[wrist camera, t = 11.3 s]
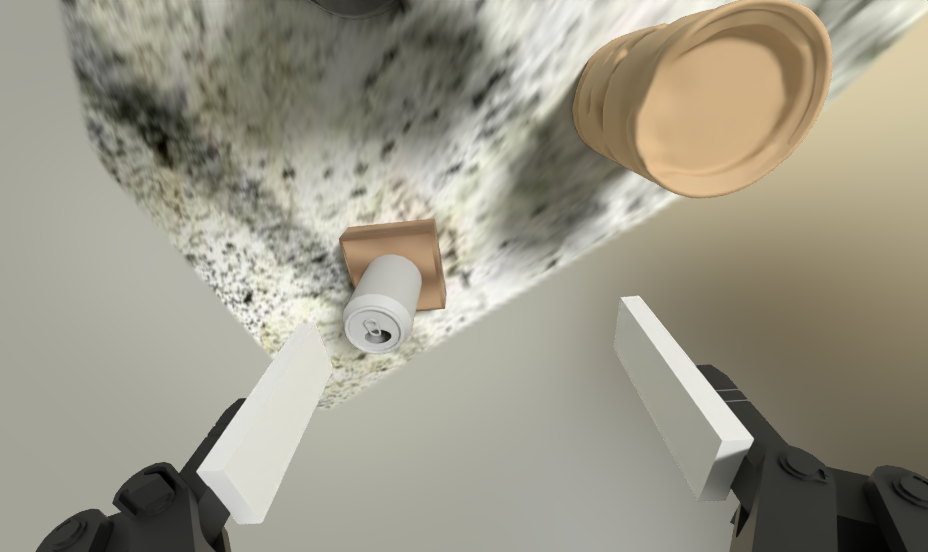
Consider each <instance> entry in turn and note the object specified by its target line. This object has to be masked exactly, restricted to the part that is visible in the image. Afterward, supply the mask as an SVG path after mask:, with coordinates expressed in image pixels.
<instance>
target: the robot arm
mask: <svg viewBox="0 0 928 552" xmlns="http://www.w3.org/2000/svg"><path fill="white" fill-rule="evenodd" d="M308 1H310V2H311V3H313V4H314V5H316V6H318V7H320V8H321V9H323V10H325V11H327V12H329V13H332V14H334V15H337V16H340V17H344V18H350V19H365V18H370V17H374V16H377V15H379V14H382V13H384V12H386V11H387V10H389V9H390V8H392V7H393V6H394V5H395V4H397V3H398V2H399V1H400V0H308ZM614 350H615V352H616V354H617V355H618V357H619V359H620V360H621V363H622V364H623V366H624V368H625V370H626V372H627V374H628V375H629V377H630V379H631V381H632V383H633V385H634V386H635V388H636V390H637V392H638V394H639V395H640V397H641V399H642V401H643V403H644V405H645V406H646V408H647V410H648V412H649V414H650V415H651V417H652V419H653V421H654V422H655V424H656V426H657V428H658V430H659V432H660V433H661V435H662V437H663V439H664V441H665V443H666V444H667V446H668V448H669V450H670V452H671V454H672V455H673V457H674V459H675V461H676V463H677V464H678V466H679V468H680V470H681V472H682V474H683V475H684V477H685V479H686V481H687V482H688V484H689V486H690V488H691V490H692V492H693V493H694V495H695V497H696V499H697V501H698V502H700V501H721V500H726V498H727V496H728V494H729V492H730V489H732V490H733V492H734V493H735V495H736V497H737V498H738V499H739V501H740V504H739V506H738V508H737V510H736V512H735V514H734V516H733V518H732V520H731V522H730V523H732V524H734V530H733V535H732V541H731V547H730V552H928V479H926V478H924V477H922V476H921V475H919V474H917V473H914V472H912V471H909V470H906V469H904V468H901V467H895V466H888V465H886V466H880V467H877V468H876V469H875V470H874V472H873V473H872V474H871V476H867V475H862V474H857V473H853V472H848V471H843V470H839V469H834V468H830V467H826V466H825V465H824V464H823V463H822V462H821V461H819V460H818V459H817V458H816V457H814V456H813V455H811V454H809V453H807V452H805V451H803V450H802V449H800V448H796V447H793V446H789V445H788V444H787V443H786V442H785V441H784V440H783V439H782V438H781V436H780V435H779V434H778V433H777V432H776V431H775V430H774V428H772V426H771V425H770V424H769V423H768V422H767V421H766V419H765V418H764V417H763V416H762V415H761V414H760V413H759V411H758V410H757V409H756V408H755V407H754V406H753V405H752V404H751V402H748V401H747V398H746V397H745V396H744V395H743V393H742V392H741V391H738V388H737V387H736V385H735V384H734V383H733V382H732V381H731V380H730V379H729V378H728V376H727V375H725V374H724V373H722V372H721V371H719V370H718V369H716V368H715V367H713V366H712V365H697V366H695V365H694V364H693V362H692V361H691V360H690V359H689V357H688V356H687V355H686V354H685V353H684V351H683V350H682V349H681V347H680V346H679V345H678V344H677V343H676V341H675V340H674V339H673V338H672V336H671V335H670V334H669V332H668V331H667V330H666V329H665V327H664V326H663V325H662V324H661V322H660V321H659V320H658V319H657V318H656V316H655V315H654V314H653V313H652V311H651V310H650V309H649V308H648V306H647V305H646V304H645V303H644V301H643V300H642V299H641V298H640V296H632V297H621V298H620V304H619V311H618V319H617V326H616V334H615V341H614ZM332 371H333V367H332V364H331V362H330V359H329V357H328V354H327V351H326V349H325V346H324V344H323V341H322V339H321V336H320V333H319V331H318V328H317V326H316V323H305V324H298V325H297V327H296V328H295V330H294V331H293V333H292V334H291V336H290V337H289V338H288V340H287V341H286V343H285V344H284V346H283V347H282V349H281V350H280V351H279V353H278V354H277V356H276V357H275V359H274V360H273V362H272V363H271V364H270V366H269V367H268V369H267V370H266V372H265V373H264V374H263V376H262V377H261V379H260V380H259V382H258V383H257V385H256V386H255V388H254V389H253V390H252V392H251V393H250V395H249V396H248V398H242V399H238V400H237V401H236V402H235V403H233V404H232V405H231V406H230V407H229V408H228V409H226V410H225V412H224V413H223V414H222V416H221V417H220V418H219V420H218V421H217V422H216V426H214V427H213V428H212V429H211V431H210V432H209V433H208V436H207V437H206V438H205V439H204V440H203V442H202V443H201V444H200V446H199V447H198V448H197V450H196V451H195V453H194V454H193V455H192V457H191V458H190V459H189V461H188V462H187V463H186V465H185V466H184V467H183V469H182V470H181V472H180V473H178V472H177V471H176V470H175V468H174V467H173V466H172V465H171V464H169V463H166V462H162V463H155V464H153V465H151V466H148V467H146V468H144V469H142V470H141V471H139V472H138V473H136V474H135V475H133V476H132V477H131V478H130V479H129V480H127V482H125V483H124V484H123V485H122V486H121V488H120V489H119V490H118V492H117V493H116V495H115V497H114V500H113V505H115V506H116V507H117V508H118V509H119V510H120V511H121V512H120V513H117V514H114V515H111V516H108V517H107V516H105V515H104V514H103V513H102V512H101V511H100V510H99V509H89V510H85V511H82V512H79V513H77V514H76V515H74V516H72V517H70V518H68V519H67V520H65V521H64V522H63V523H61V524H60V525H59V526H57V527H56V528H55V529H54V530H53V531H52V532H51V533H50V534H49V535H48V536H47V537H46V538H45V539H44V540H43V542H42V543H41V544H40V546H39V547H38V548H37V550H36V552H231V548H230V543H229V538H228V533H227V531H226V529H225V527H224V525H225V523H226V521H227V519H228V517H229V516H230V515H231V516H232V517H233V518H234V520H235V521H236V522H237V523H238V524H255V523H262V522H263V520H264V518H265V515H266V513H267V511H268V509H269V507H270V505H271V503H272V500H273V498H274V496H275V494H276V492H277V490H278V487H279V485H280V483H281V481H282V479H283V477H284V474H285V472H286V470H287V468H288V466H289V464H290V461H291V459H292V457H293V455H294V453H295V450H296V448H297V446H298V444H299V442H300V440H301V438H302V435H303V433H304V431H305V429H306V427H307V425H308V423H309V420H310V418H311V416H312V414H313V412H314V410H315V408H316V405H317V403H318V401H319V399H320V397H321V395H322V392H323V390H324V388H325V386H326V384H327V382H328V379H329V377H330V375H331V373H332Z"/></svg>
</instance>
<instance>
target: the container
mask: <svg viewBox="0 0 928 552" xmlns="http://www.w3.org/2000/svg"><path fill="white" fill-rule="evenodd" d="M832 64H833V62H832V47H831V42H830V38H829V35H828V32H827V30H826V28H825V26H824V25H823V23H822V22H821V21H820V19H819V18H818V17H817V16H816V15H815V14H814V13H813V11H811V10H810V9H808V8H806V7H805V6H803V5H800V4H798V3H795V2H793V1H787V0H738V1H735V2H732V3H728V4H725V5H723V6H720V7H718V8H716V9H711V10H706V11H702V12H698V13H695V14H692V15H688V16H685V17H682V18H680V19H678V20H676V21H675V22H673V23H671V24H665V23H664V24H660V25H657V26H652V27H648V28H645V29H641V30H638V31H635V32H632V33H629V34H626V35H623V36H621V37H618V38H616V39H614V40H612V41H611V42H609V43H607V44H606V45H604V46H603V47H602V48H601V49H599V50H598V51H597V52H596V53H595V54H594V55H593V56H592V57H591V58H590V59H589V61H588V62H587V66H586V68H585V70H584V71H583V74H582V76H581V79H580V81H579V84H578V87H577V90H576V94H575V99H574V102H573V106H572V113H573V120H574V124H575V127H576V130H577V132H578V134H579V136H580V137H581V139H582V140H583V141H584V142H585V143H586V144H587V145H588V146H589V147H590V148H592V149H593V150H594V151H596V152H598V153H600V154H602V155H604V156H605V157H607V158H609V159H611V160H613V161H615V162H617V163H618V164H620V165H622V166H624V167H626V168H628V169H629V170H631V171H633V172H635V173H637V174H639V175H641V176H643V177H644V178H646V179H648V180H650V181H652V182H654V183H656V184H657V185H659V186H661V187H663V188H665V189H667V190H669V191H670V192H673V193H675V194H678V195H682V196H685V197H690V198H711V197H718V196H723V195H727V194H730V193H733V192H736V191H739V190H741V189H743V188H746V187H748V186H750V185H751V184H753V183H755V182H757V181H758V180H760V179H761V178H763V177H764V176H765V175H767V174H768V173H769V172H771V171H772V170H773V169H774V168H775V167H777V166H778V165H779V164H780V163H781V162H783V161H784V160H785V159H787V158H788V157H789V156H790V155H791V154H792V153H793V152H794V150H795V149H796V148H797V147H798V146H799V144H800V143H801V142H802V141H803V140H804V138H805V137H806V135H807V134H808V132H809V131H810V129H811V128H812V126H813V125H814V123H815V121H816V119H817V118H818V116H819V114H820V112H821V110H822V107H823V105H824V102H825V100H826V97H827V94H828V90H829V86H830V82H831V76H832Z"/></svg>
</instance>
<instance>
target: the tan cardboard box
mask: <svg viewBox="0 0 928 552" xmlns="http://www.w3.org/2000/svg"><path fill="white" fill-rule="evenodd" d="M339 241H340V244H341V248H342V251H343V254H344V257H345V261H346V264H347V267H348V271H349V274H350V277H351V280H352V284H353V287H354V290H355V289H356V287H357V285H358V283H359V281H360V280H361V278H362V276H363V274H364V272H365V270H366V269H367V267H368V265H369V264H370V262H372V261H373V260H374V259H375V258H377V257H380V256H383V255H398V256H402V257H405V258H406V259H408V260H410V261H411V262H412V263H413V264H414V265H415V266H416V267H417V268H418V270H419V272H420V274H421V279H422V285H421V290H420V294H419V299H418V303H417V308H416V311H424V310H435V309H445V303H446V288H445V281H444V275H443V268H442V262H441V255H440V249H439V242H438V236H437V229H436V223H435V219H427V220H417V221H407V222H397V223H387V224H377V225H367V226H357V227H348V228H347V229H346V231H345V232H344V233H343V234H342V236H341V237H340V238H339Z"/></svg>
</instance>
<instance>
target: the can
mask: <svg viewBox="0 0 928 552" xmlns="http://www.w3.org/2000/svg"><path fill="white" fill-rule="evenodd" d="M421 285H422V279H421V274H420V272H419V270H418V268H417V267H416V266H415V265H414V264H413V263H412V262H411V261H410V260H408V259H406V258H405V257H402V256H398V255H383V256H380V257H377V258H375V259H374V260H373V261H372V262H370V264H369V265H368V267H367V269H366V270H365V272H364V274H363V276H362V278H361V280H360V281H359V283H358V285H357V287H356V289H355V291H354V293H353V295H352V296H351V298H350V300H349V302H348V304H347V306H346V308H345V309H344V313H343V319H342V320H343V324H344V330H345V334H346V337H347V338H348V340H349V341H350V343H351V344H353V345H354V346H355V347H356V348H358V349H360V350H362V351H364V352H366V353H371V354H386V353H389V352H392V351H394V350H395V349H397V348H398V347H399V346H400V345H401V344H402V343H404V342H405V341H406V340H407V338H408V337H409V336H410V333H411V330H412V326H413V321H414V317H415V312H416V308H417V303H418V299H419V294H420V290H421Z"/></svg>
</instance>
